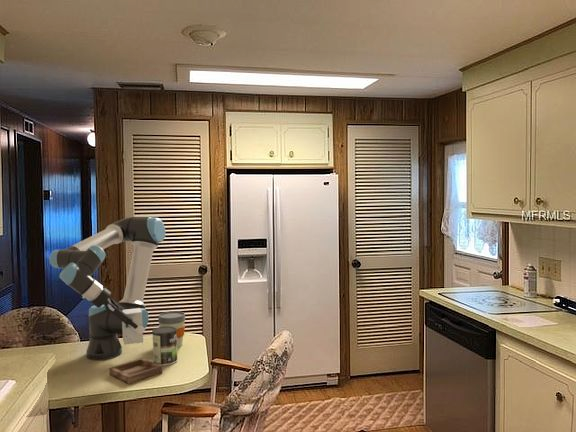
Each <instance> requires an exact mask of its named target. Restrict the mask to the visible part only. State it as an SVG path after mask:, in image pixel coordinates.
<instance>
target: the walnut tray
mask: <svg viewBox="0 0 576 432" xmlns="http://www.w3.org/2000/svg"><path fill="white" fill-rule="evenodd" d="M108 370H109V371H108V372H109V374H108V375H109V376H111V377H113V378H114V379H116V380H118V381H120V382H122V383H124V384H126V385H128V386H130V385H134V384H136V383H140V382H142V381H145V380H147V379H150V378H154V377H155V376H156V377H157V376H159V375H162V374H163V366H160V365H158V364H156V363H154V361H151V360H149V359H146V358H144V357H140V358H136V359H134V360H130V361H127V362H124V363H120V364H117V365H113V366H111V367H109V368H108Z"/></svg>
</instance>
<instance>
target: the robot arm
mask: <svg viewBox="0 0 576 432" xmlns="http://www.w3.org/2000/svg"><path fill="white" fill-rule="evenodd" d="M165 237H166V227H165V224H164V222H163V220H162V219H160V218H159V217H152V216H148V217H147V216H129V217H126V218H123V219H119V220H116V221H115V222H113V223H111V224H109V225H107V226H106V228H105V229H103V230H101V231H99V232H97V233H96V234H93V235H91V236H89V237H87V238H84V239H83V240H81V241H79V242H77V243H75V244H73V245H71V246H69V247H66V248H65V249H61V248H60V249H55V250H53V251H51V253H50V254H49V258H48V259H49V264H50V265H51V267H52V268H54V269H55V268H56V269H60V270H61V269H62V270H61V272H60V274H59V279H60V280H61V281H63V282H64V283H65V285H66V286H69V287H70V288H71V289H73V291H75V292H76V293H78V294H79V295H80V296H81V298H82V299H86V300H87V301H88V302H90V303H91V304H92V305H91V307H89V308H88V330H89V341H88V345H87V349H86V358H87V359H89V360H92V361H93V360H94V361H99V360H102V361H103V360H109V359H113V358H116V357H118V356H120V355H121V354H122V352H123V347H122V344H121V341H120V339H119V337H118V335H123V331H122V321H123V322H124V323H125V324H126V326H128V325H129V326H130V327H131V328H132V329H134V330H135V331H136V332H138V333H139V334H140V335H141V334H142V333H143V334H144V332H145V331H146V328H147V327H148V323H149V319H150V318H149V312H148V311H147V310H146V304H145V303H144V299H145V293H146V288H147V283H148V278H149V274H150V273H149V272H150V269H151V263H152V259H153V253H154V251H155V250H156V249H157V248H158V246H159V243H162V242H163V241H164V240H165ZM125 242H131V244H132V245H133V252H132V256H131V261H130V267H129V271H128V276H127V280H126V285H125V290H124V295H123V298H122V299H121V300H119V301H118V302H116V300H114V299H113V298H111V295H112V292H111V291H110V290H109V289H107V288H106V287H104V285H102V284H101V283H100V282H98V280H96V279H95V278H94V277H92V276H93V274H94V273H95V272H96V270H97V269H98V268H100V266H101V265H102V263H103V262H104V259H105V258H106V256H107V255H106V254H107V253H106V251H105V249H106V248H108V247H110V246H112V245H118V244H120V243H125ZM135 308H140V309H141V311H142V326H143V327H142V326H141V325H140V324H138V323H137V322H136V321H134V320H133V319H131V318H130V317H129V316H127V315H126V314H125V313H124V312H123V311H122V310H126V309H135Z"/></svg>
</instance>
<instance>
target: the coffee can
mask: <svg viewBox="0 0 576 432" xmlns="http://www.w3.org/2000/svg"><path fill="white" fill-rule="evenodd" d="M151 333H152V351H153V352H152V353H153V355H152V357H153V362H154V363H156V364H158V365H160V366H162V367H163V366H165V367H167V366H170V365H174V364H176V363H178V361H179V360H178V348H177V328H175V327H170V326H165V327H160V326H159V327H156V328H153V329H152V332H151Z"/></svg>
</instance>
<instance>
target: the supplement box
mask: <svg viewBox="0 0 576 432" xmlns="http://www.w3.org/2000/svg"><path fill="white" fill-rule="evenodd" d="M122 311H123V312H124V313H125V314H126V315H127V316H129V317H130V318H131V319H133V320H134V321H136V322H137V323H138V324H140V325H141V326H142V311H141V309H140V308H135V309H126V310H122ZM142 327H143V326H142ZM122 331H123V334H122V341H123V345H124V346H126V345H131V344H140V343H144V332H143V333H142V334H141V335H140V334H139V333H138V332H136V331H135V330H134V329H132V328H131V327H130V326H129V325H128V326H126V324H125V323H124V322H123V321H122Z"/></svg>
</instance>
